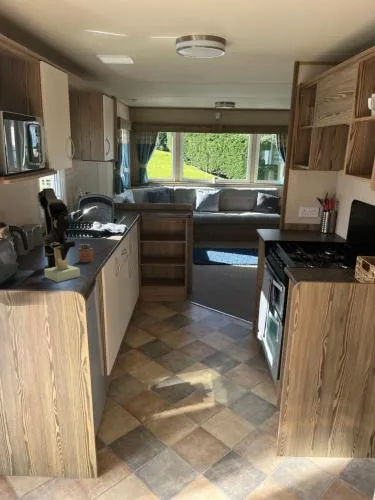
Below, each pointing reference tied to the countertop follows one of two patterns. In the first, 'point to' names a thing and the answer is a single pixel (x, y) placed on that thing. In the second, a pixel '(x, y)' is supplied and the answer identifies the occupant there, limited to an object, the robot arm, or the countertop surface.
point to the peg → (59, 259)
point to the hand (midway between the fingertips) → (61, 259)
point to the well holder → (62, 273)
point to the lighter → (85, 253)
